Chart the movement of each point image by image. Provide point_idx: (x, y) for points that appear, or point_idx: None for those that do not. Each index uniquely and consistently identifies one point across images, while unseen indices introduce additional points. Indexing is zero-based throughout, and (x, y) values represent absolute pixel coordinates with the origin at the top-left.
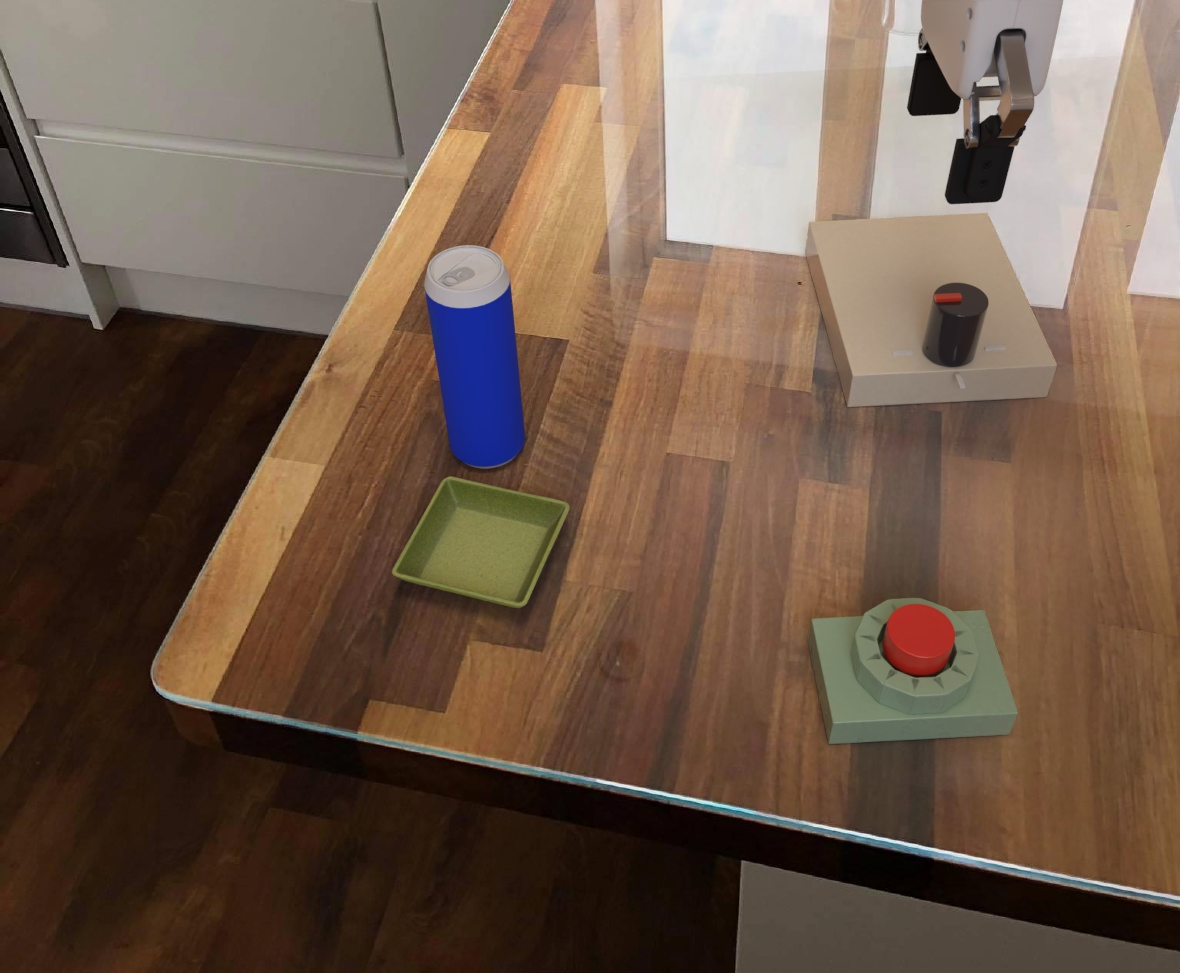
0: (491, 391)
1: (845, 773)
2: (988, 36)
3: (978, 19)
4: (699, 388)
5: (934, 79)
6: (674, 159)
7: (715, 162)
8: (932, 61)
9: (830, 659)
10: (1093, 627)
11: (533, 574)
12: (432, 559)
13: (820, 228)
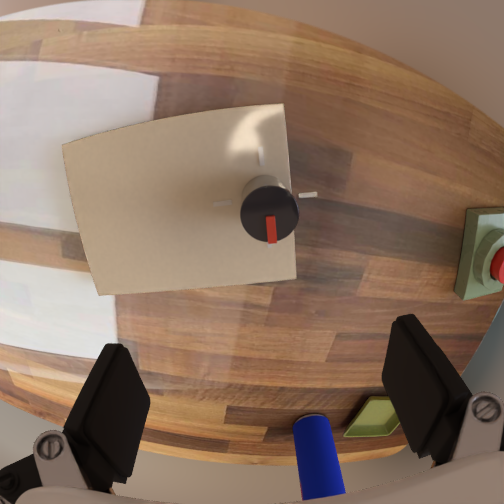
0: (337, 457)
1: None
2: None
3: None
4: (269, 350)
5: (126, 434)
6: (44, 347)
7: (37, 326)
8: (122, 469)
9: (481, 292)
10: (469, 144)
11: None
12: (376, 424)
13: (105, 288)
